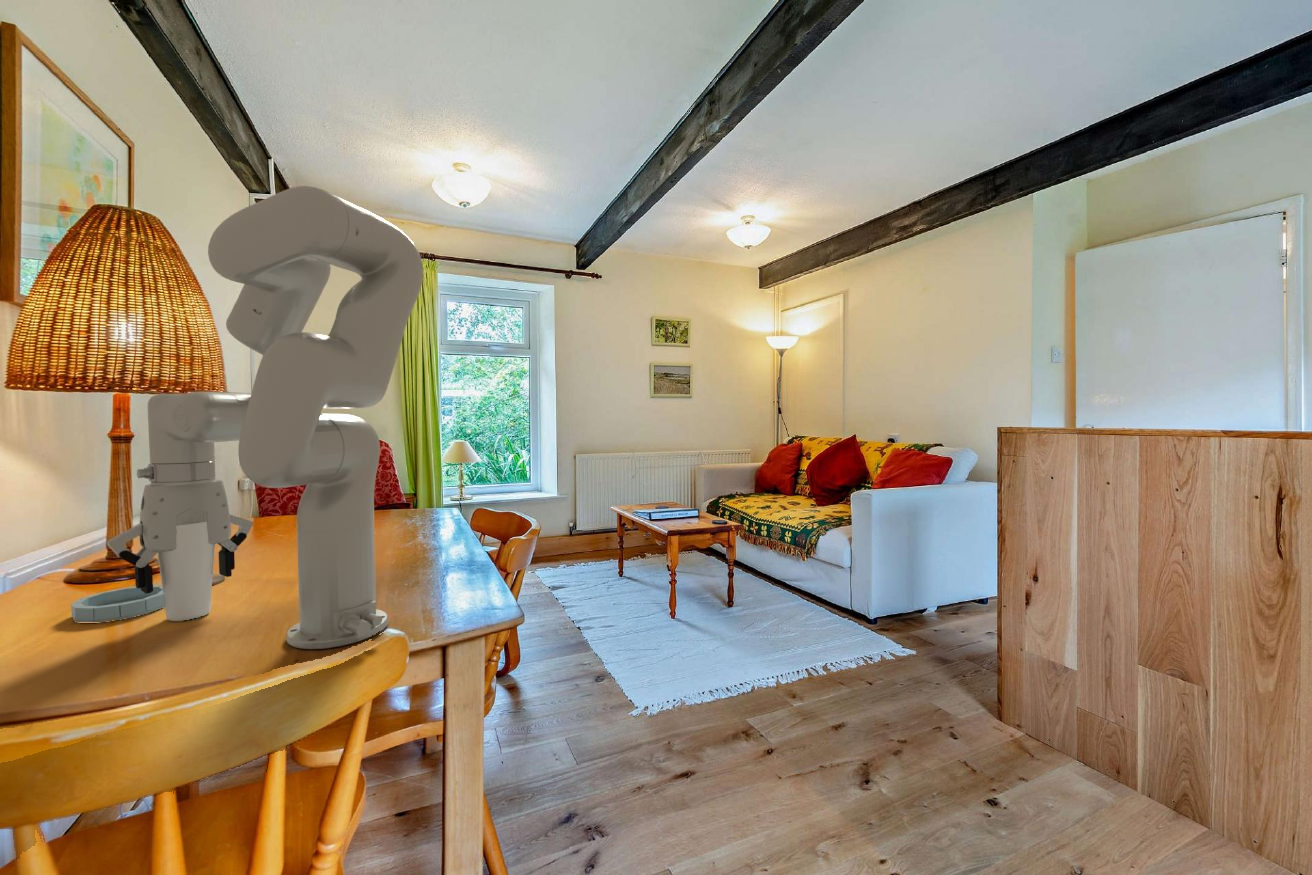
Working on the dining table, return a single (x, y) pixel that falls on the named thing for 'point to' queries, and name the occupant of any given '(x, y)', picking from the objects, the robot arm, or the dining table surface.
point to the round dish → (117, 604)
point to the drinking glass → (188, 573)
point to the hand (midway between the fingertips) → (188, 582)
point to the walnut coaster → (217, 579)
